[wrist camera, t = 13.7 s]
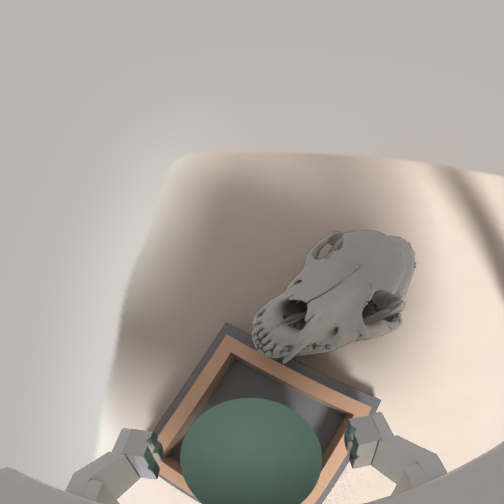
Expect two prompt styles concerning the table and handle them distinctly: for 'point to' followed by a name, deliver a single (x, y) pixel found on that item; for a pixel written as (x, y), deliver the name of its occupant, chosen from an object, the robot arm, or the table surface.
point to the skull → (338, 296)
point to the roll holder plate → (265, 387)
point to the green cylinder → (251, 454)
